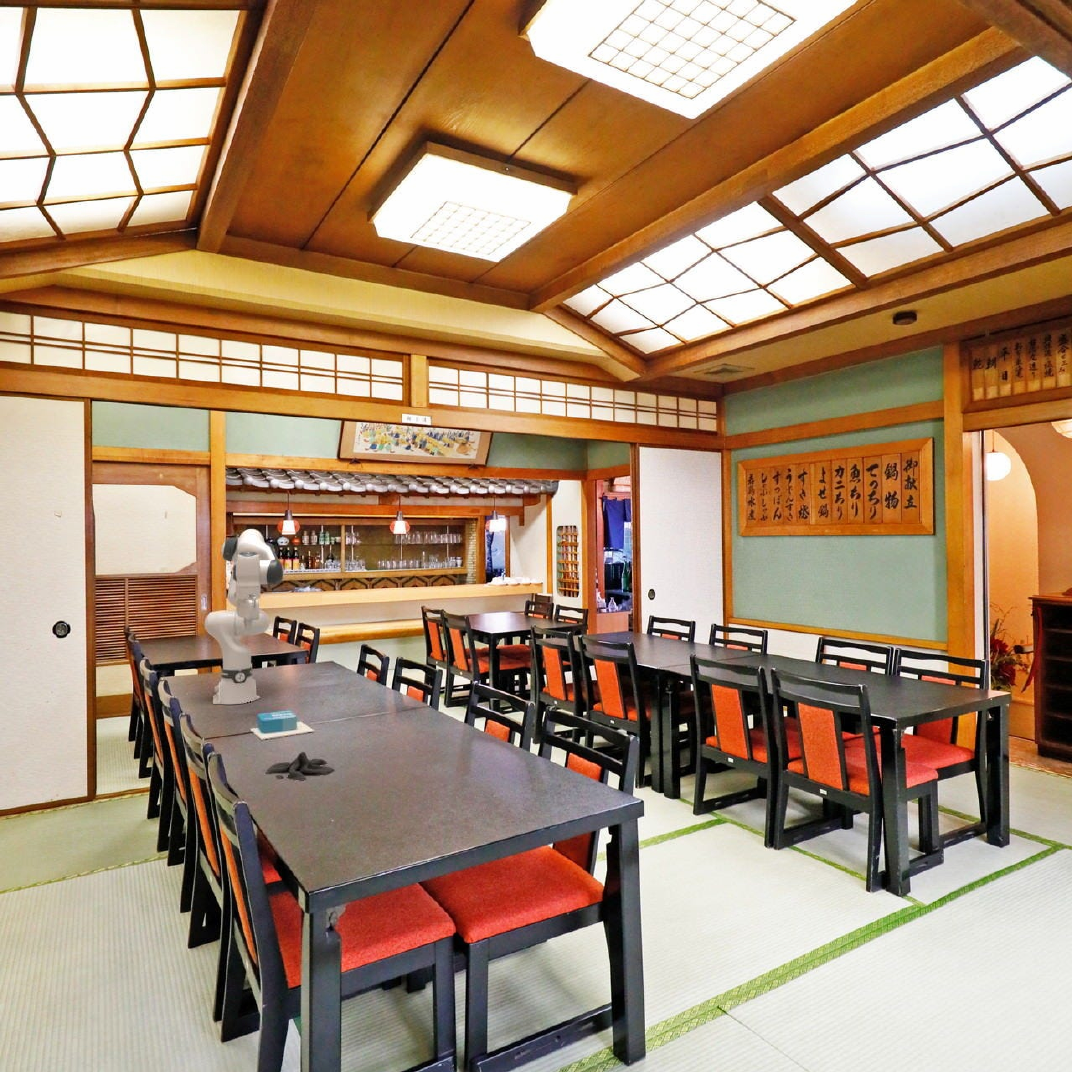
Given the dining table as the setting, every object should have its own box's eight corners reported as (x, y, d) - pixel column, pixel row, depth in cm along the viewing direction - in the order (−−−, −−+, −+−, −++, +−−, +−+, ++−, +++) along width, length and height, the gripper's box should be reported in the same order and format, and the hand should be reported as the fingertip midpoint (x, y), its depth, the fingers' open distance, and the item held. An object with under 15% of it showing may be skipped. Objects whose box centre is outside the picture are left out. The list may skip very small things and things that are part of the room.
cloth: (258, 770, 207) (258, 749, 207) (321, 759, 217) (321, 739, 217) (277, 791, 188) (278, 768, 188) (344, 778, 199) (345, 757, 199)
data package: (291, 710, 259) (297, 716, 248) (291, 722, 259) (297, 729, 248) (256, 713, 253) (262, 720, 242) (256, 726, 253) (262, 733, 242)
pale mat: (250, 730, 249) (250, 728, 249) (300, 723, 260) (300, 721, 260) (261, 740, 236) (261, 738, 236) (314, 732, 247) (314, 730, 247)
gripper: (263, 595, 259) (263, 632, 259) (250, 592, 276) (250, 627, 276) (245, 595, 256) (245, 633, 256) (233, 593, 272) (233, 628, 272)
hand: (247, 630), depth 266 cm, fingers closed
